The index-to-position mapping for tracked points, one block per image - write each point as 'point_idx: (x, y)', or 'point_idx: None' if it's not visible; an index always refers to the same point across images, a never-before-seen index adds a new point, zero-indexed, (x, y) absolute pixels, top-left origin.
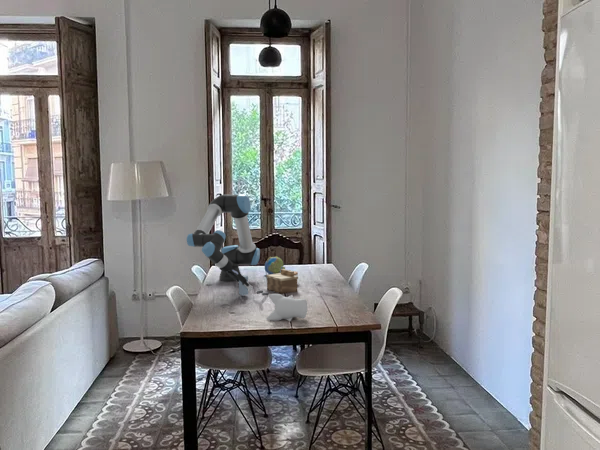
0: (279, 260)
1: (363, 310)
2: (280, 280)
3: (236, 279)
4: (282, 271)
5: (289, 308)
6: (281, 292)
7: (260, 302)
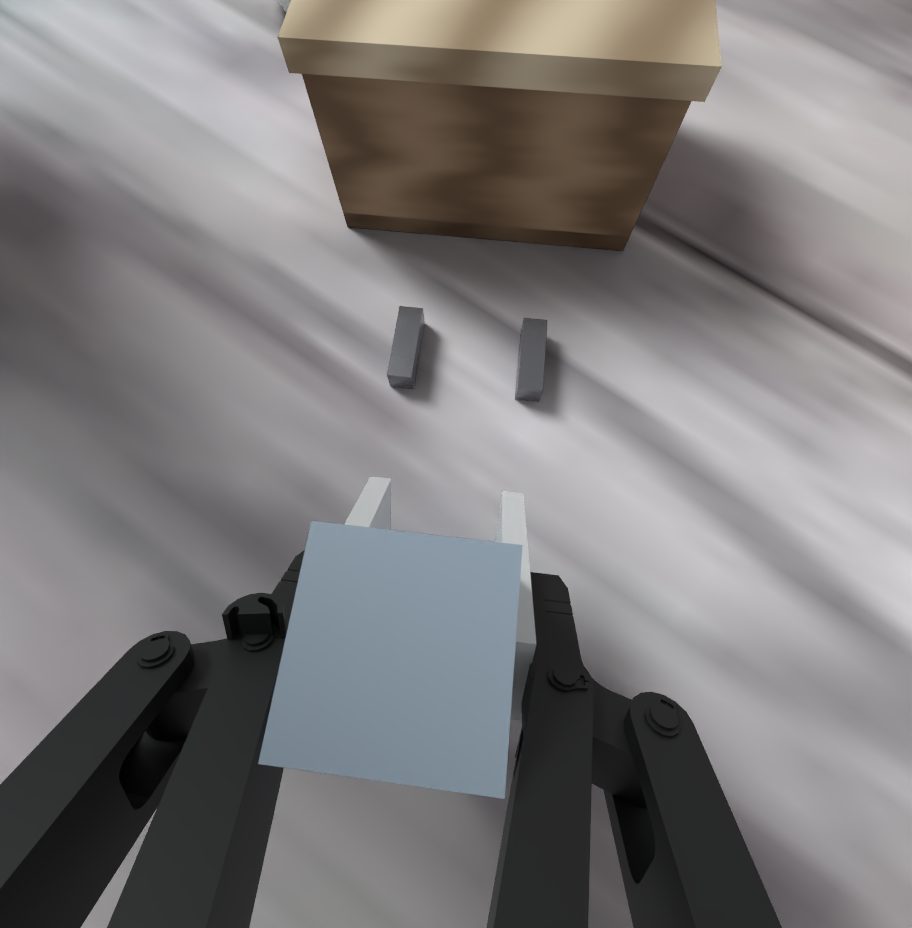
0: None
1: None
2: (700, 92)
3: (272, 812)
4: None
5: None
6: (628, 231)
7: (889, 672)
